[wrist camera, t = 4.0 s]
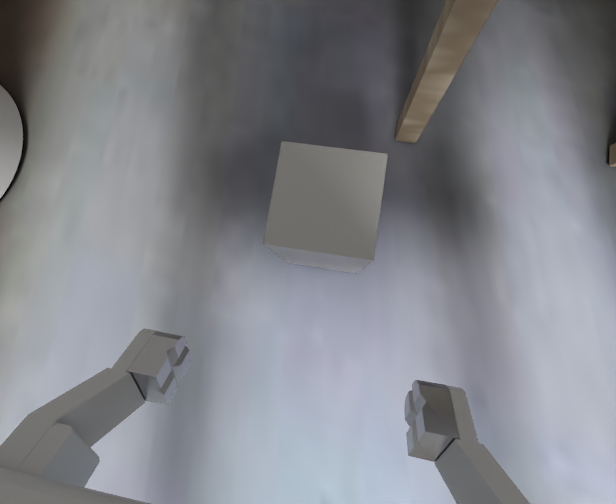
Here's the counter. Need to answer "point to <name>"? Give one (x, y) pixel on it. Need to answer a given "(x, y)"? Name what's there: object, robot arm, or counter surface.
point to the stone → (326, 206)
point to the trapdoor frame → (446, 65)
